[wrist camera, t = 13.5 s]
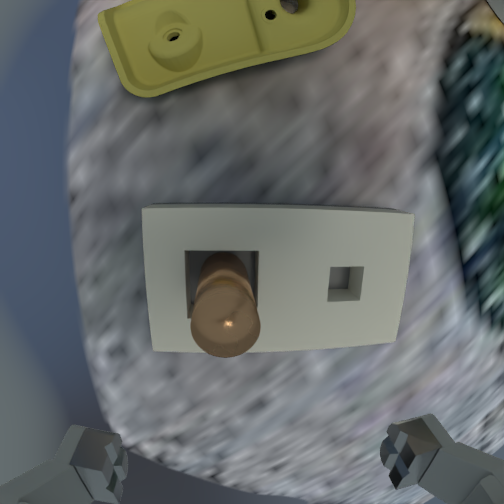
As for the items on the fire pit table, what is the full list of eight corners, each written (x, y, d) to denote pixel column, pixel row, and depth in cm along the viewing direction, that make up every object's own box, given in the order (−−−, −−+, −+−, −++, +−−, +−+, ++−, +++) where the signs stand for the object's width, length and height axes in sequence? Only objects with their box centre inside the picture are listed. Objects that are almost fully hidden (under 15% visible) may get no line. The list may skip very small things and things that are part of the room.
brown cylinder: (200, 252, 27) (189, 295, 17) (247, 252, 27) (262, 295, 18) (200, 296, 28) (192, 357, 18) (246, 296, 28) (259, 356, 19)
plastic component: (131, 106, 22) (91, 3, 16) (146, 90, 28) (116, 7, 22) (364, 46, 21) (339, -58, 15) (333, 40, 27) (312, -43, 20)
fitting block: (161, 330, 29) (153, 350, 26) (153, 203, 27) (141, 208, 23) (378, 324, 31) (395, 341, 27) (393, 208, 28) (414, 214, 24)
